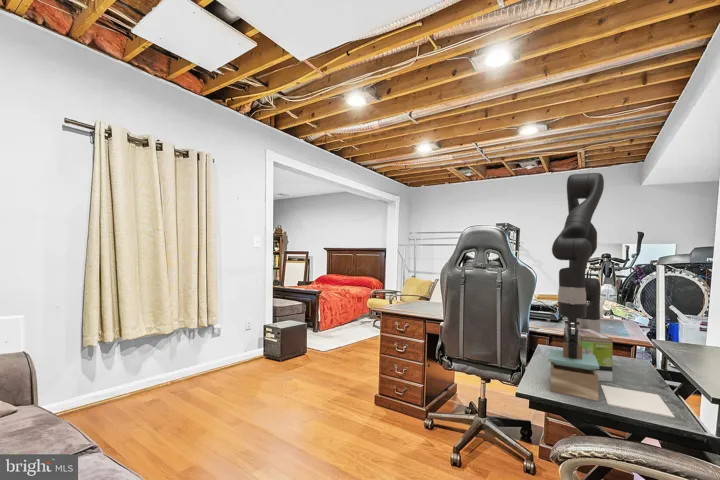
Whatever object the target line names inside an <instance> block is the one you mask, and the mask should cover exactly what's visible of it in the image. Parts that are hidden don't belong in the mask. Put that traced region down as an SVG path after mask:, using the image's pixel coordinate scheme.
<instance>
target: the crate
mask: <svg viewBox="0 0 720 480" xmlns="http://www.w3.org/2000/svg"><path fill="white" fill-rule="evenodd" d="M550 392H552V393H556V394H560V395H561V394H562V395H567V396H571V397H572V396H573V397H576V398H582V399H587V400H591V401H599V381H598V374H597V372H596V369H595V368H593V370H588V369H581V368H575V367H569V366H562V365H556V364H554V362H550Z"/></svg>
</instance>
